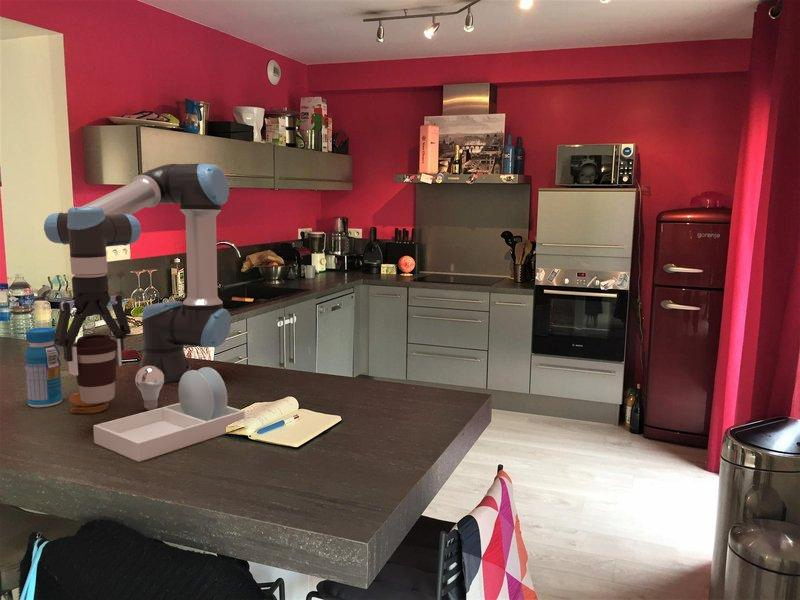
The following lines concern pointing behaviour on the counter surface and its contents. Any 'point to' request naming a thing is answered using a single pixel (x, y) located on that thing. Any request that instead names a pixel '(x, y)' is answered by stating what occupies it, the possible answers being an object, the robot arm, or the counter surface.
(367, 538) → the counter surface
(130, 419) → the white tray
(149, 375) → the light bulb
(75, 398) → the burger
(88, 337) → the coffee cup
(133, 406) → the counter surface
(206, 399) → the plates
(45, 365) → the beverage bottle
